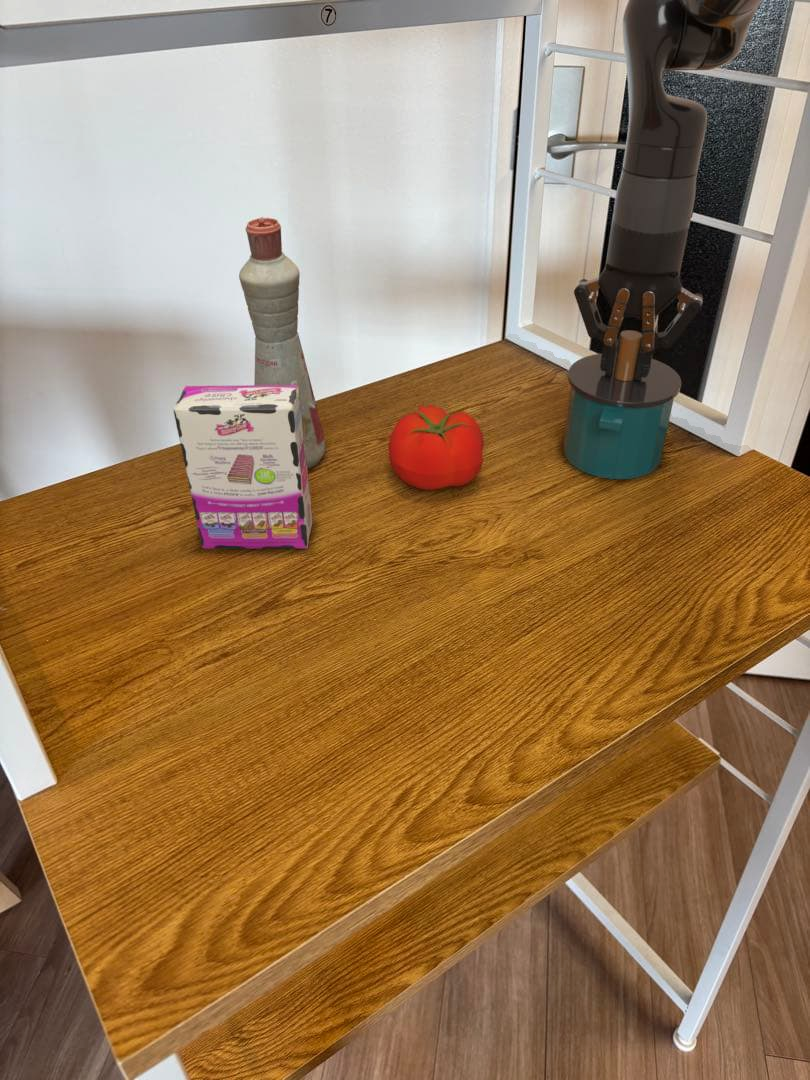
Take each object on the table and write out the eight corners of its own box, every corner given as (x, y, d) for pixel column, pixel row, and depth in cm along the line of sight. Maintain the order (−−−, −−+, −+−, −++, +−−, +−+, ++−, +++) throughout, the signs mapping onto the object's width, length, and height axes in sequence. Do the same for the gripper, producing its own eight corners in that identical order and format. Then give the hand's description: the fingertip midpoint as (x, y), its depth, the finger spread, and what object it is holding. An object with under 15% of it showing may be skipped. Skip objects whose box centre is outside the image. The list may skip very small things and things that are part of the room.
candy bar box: (313, 521, 89) (301, 382, 79) (308, 550, 85) (294, 408, 75) (209, 521, 89) (183, 382, 79) (199, 550, 85) (171, 408, 75)
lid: (684, 371, 97) (695, 320, 93) (672, 421, 87) (684, 367, 84) (578, 355, 100) (585, 306, 96) (556, 401, 91) (563, 349, 87)
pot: (668, 428, 104) (683, 357, 98) (650, 500, 91) (666, 424, 86) (577, 412, 107) (587, 344, 101) (549, 480, 95) (557, 406, 89)
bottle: (235, 460, 98) (198, 218, 81) (290, 430, 104) (266, 197, 87) (286, 486, 94) (258, 236, 77) (341, 453, 100) (326, 213, 82)
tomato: (370, 478, 95) (368, 421, 91) (433, 442, 101) (434, 387, 97) (440, 515, 89) (442, 456, 85) (502, 474, 96) (507, 417, 91)
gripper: (573, 221, 82) (555, 381, 92) (721, 237, 78) (684, 401, 88) (588, 200, 87) (568, 353, 98) (726, 214, 83) (691, 371, 94)
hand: (623, 375), depth 93 cm, fingers closed on lid, 2 cm apart
